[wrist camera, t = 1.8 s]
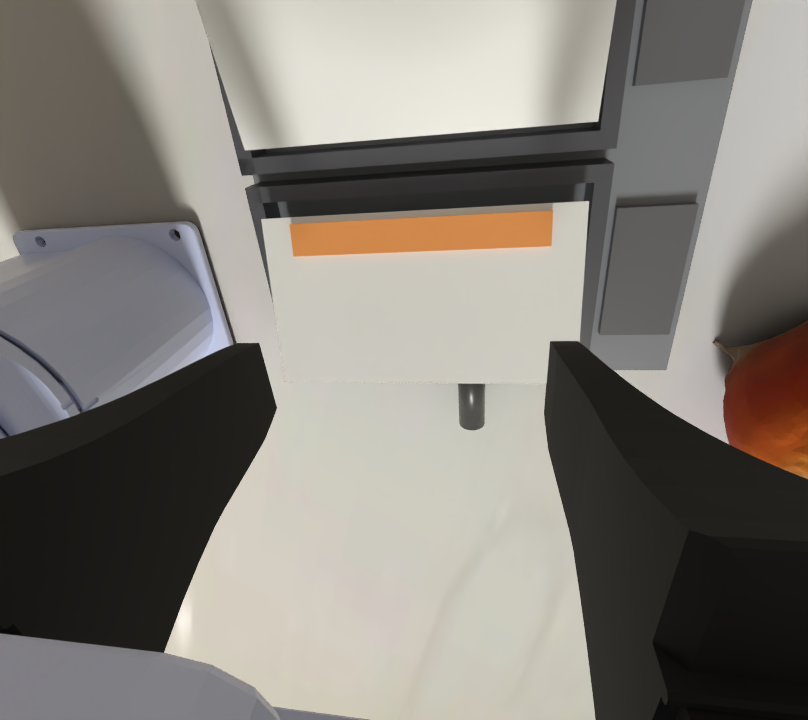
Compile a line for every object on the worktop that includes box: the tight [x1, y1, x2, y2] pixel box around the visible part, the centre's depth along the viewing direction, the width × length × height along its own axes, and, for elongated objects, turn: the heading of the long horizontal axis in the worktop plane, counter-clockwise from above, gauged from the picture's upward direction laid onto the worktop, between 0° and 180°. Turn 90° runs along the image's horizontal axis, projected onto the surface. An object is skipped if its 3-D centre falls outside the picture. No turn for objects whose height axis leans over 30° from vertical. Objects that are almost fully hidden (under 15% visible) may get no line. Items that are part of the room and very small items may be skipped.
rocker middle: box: [196, 0, 617, 150], centre depth 12 cm, size 10×6×2 cm, turn 95°
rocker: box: [261, 201, 589, 384], centre depth 15 cm, size 10×6×2 cm, turn 95°
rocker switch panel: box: [209, 0, 752, 430], centre depth 15 cm, size 15×28×4 cm, turn 5°
